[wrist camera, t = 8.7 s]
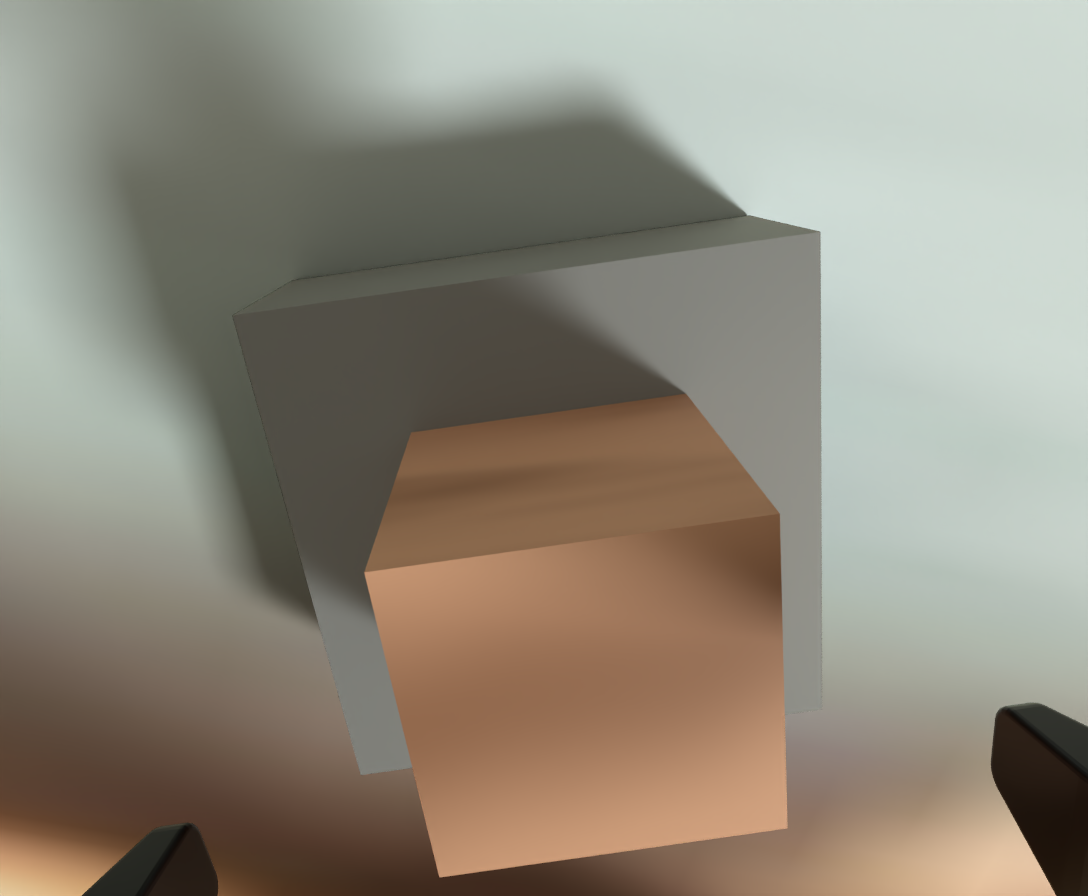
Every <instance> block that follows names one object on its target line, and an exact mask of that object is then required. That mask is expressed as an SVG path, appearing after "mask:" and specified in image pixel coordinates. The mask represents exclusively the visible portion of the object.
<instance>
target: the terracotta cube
mask: <svg viewBox="0 0 1088 896" xmlns="http://www.w3.org/2000/svg"><path fill="white" fill-rule="evenodd" d="M364 574H365V578H366V582H367V586H368V590H369V594H370V598H371V602H372V606H373V610H374V614H375V618H376V622H377V626H378V630H379V634H380V638H381V643H382V647H383V651H384V655H385V659H386V663H387V667H388V671H389V675H390V679H391V683H392V687H393V691H394V695H395V699H396V703H397V707H398V712H399V716H400V720H401V724H402V728H403V732H404V736H405V740H406V744H407V748H408V752H409V756H410V760H411V764H412V768H413V772H414V776H415V780H416V785H417V789H418V793H419V797H420V801H421V805H422V809H423V813H424V817H425V821H426V825H427V829H428V833H429V837H430V841H431V845H432V849H433V854H434V858H435V862H436V866H437V870H438V874H439V877H447V876H454V875H461V874H468V873H475V872H482V871H489V870H496V869H503V868H510V867H517V866H524V865H531V864H538V863H545V862H552V861H560V860H567V859H574V858H581V857H588V856H595V855H602V854H609V853H616V852H623V851H630V850H637V849H644V848H651V847H658V846H666V845H673V844H680V843H687V842H694V841H701V840H708V839H715V838H722V837H729V836H736V835H743V834H750V833H757V832H764V831H772V830H779V829H786V828H787V789H786V748H785V706H784V664H783V623H782V581H781V539H780V513H779V512H778V511H777V509H776V508H775V507H774V505H773V504H772V503H771V502H770V500H769V499H768V498H767V497H766V495H765V494H764V493H763V491H762V490H761V489H760V488H759V486H758V485H757V484H756V482H755V481H754V480H753V479H752V477H751V476H750V475H749V473H748V472H747V471H746V470H745V468H744V467H743V466H742V464H741V463H740V462H739V461H738V459H737V458H736V457H735V456H734V454H733V453H732V452H731V450H730V449H729V448H728V447H727V445H726V444H725V443H724V441H723V440H722V439H721V438H720V436H719V435H718V434H717V432H716V431H715V430H714V429H713V427H712V426H711V425H710V423H709V422H708V421H707V420H706V418H705V417H704V416H703V415H702V413H701V412H700V411H699V409H698V408H697V407H696V406H695V404H694V403H693V402H692V400H691V399H690V398H689V397H688V395H687V394H680V395H673V396H666V397H659V398H652V399H645V400H638V401H631V402H624V403H617V404H609V405H602V406H595V407H588V408H581V409H574V410H567V411H560V412H553V413H546V414H539V415H532V416H525V417H518V418H510V419H503V420H496V421H489V422H482V423H475V424H468V425H461V426H454V427H447V428H440V429H433V430H426V431H418V432H411V434H410V437H409V440H408V443H407V446H406V449H405V452H404V455H403V458H402V461H401V464H400V467H399V470H398V473H397V476H396V479H395V482H394V485H393V488H392V491H391V494H390V497H389V500H388V503H387V506H386V509H385V512H384V515H383V518H382V521H381V524H380V527H379V530H378V533H377V536H376V539H375V542H374V545H373V548H372V551H371V554H370V557H369V560H368V563H367V566H366V569H365V572H364Z"/></svg>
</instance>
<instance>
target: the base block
mask: <svg viewBox="0 0 1088 896" xmlns="http://www.w3.org/2000/svg"><path fill="white" fill-rule="evenodd" d="M232 316H233V320H234V323H235V327H236V330H237V334H238V338H239V341H240V345H241V348H242V352H243V355H244V359H245V363H246V366H247V370H248V373H249V377H250V380H251V384H252V388H253V391H254V395H255V398H256V402H257V405H258V409H259V413H260V416H261V420H262V423H263V427H264V431H265V434H266V438H267V441H268V445H269V448H270V452H271V456H272V459H273V463H274V466H275V470H276V473H277V477H278V481H279V484H280V488H281V491H282V495H283V498H284V502H285V506H286V509H287V513H288V516H289V520H290V523H291V527H292V531H293V534H294V538H295V541H296V545H297V548H298V552H299V556H300V559H301V563H302V566H303V570H304V574H305V577H306V581H307V584H308V588H309V591H310V595H311V599H312V602H313V606H314V609H315V613H316V616H317V620H318V624H319V627H320V631H321V634H322V638H323V641H324V645H325V649H326V652H327V656H328V659H329V663H330V666H331V670H332V674H333V677H334V681H335V684H336V688H337V692H338V695H339V699H340V702H341V706H342V709H343V713H344V717H345V720H346V724H347V727H348V731H349V734H350V738H351V742H352V745H353V749H354V752H355V756H356V759H357V763H358V767H359V770H360V774H361V775H365V774H372V773H379V772H386V771H393V770H400V769H407V768H412V764H411V760H410V756H409V752H408V748H407V744H406V740H405V736H404V732H403V728H402V724H401V720H400V716H399V712H398V707H397V703H396V699H395V695H394V691H393V687H392V683H391V679H390V675H389V671H388V667H387V663H386V659H385V655H384V651H383V647H382V643H381V638H380V634H379V630H378V626H377V622H376V618H375V614H374V610H373V606H372V602H371V598H370V594H369V590H368V586H367V582H366V578H365V574H364V572H365V569H366V566H367V563H368V560H369V557H370V554H371V551H372V548H373V545H374V542H375V539H376V536H377V533H378V530H379V527H380V524H381V521H382V518H383V515H384V512H385V509H386V506H387V503H388V500H389V497H390V494H391V491H392V488H393V485H394V482H395V479H396V476H397V473H398V470H399V467H400V464H401V461H402V458H403V455H404V452H405V449H406V446H407V443H408V440H409V437H410V434H411V432H418V431H426V430H433V429H440V428H447V427H454V426H461V425H468V424H475V423H482V422H489V421H496V420H503V419H510V418H518V417H525V416H532V415H539V414H546V413H553V412H560V411H567V410H574V409H581V408H588V407H595V406H602V405H609V404H617V403H624V402H631V401H638V400H645V399H652V398H659V397H666V396H673V395H680V394H687V395H688V397H689V398H690V399H691V400H692V402H693V403H694V404H695V406H696V407H697V408H698V409H699V411H700V412H701V413H702V415H703V416H704V417H705V418H706V420H707V421H708V422H709V423H710V425H711V426H712V427H713V429H714V430H715V431H716V432H717V434H718V435H719V436H720V438H721V439H722V440H723V441H724V443H725V444H726V445H727V447H728V448H729V449H730V450H731V452H732V453H733V454H734V456H735V457H736V458H737V459H738V461H739V462H740V463H741V464H742V466H743V467H744V468H745V470H746V471H747V472H748V473H749V475H750V476H751V477H752V479H753V480H754V481H755V482H756V484H757V485H758V486H759V488H760V489H761V490H762V491H763V493H764V494H765V495H766V497H767V498H768V499H769V500H770V502H771V503H772V504H773V505H774V507H775V508H776V509H777V511H778V512H779V513H780V539H781V581H782V623H783V664H784V706H785V715H787V714H794V713H801V712H808V711H815V710H822V547H821V270H820V232H819V231H815V230H810V229H806V228H802V227H797V226H793V225H789V224H784V223H780V222H776V221H771V220H767V219H763V218H758V217H754V216H750V215H748V216H741V217H734V218H727V219H720V220H713V221H706V222H699V223H692V224H685V225H678V226H671V227H664V228H657V229H650V230H643V231H636V232H629V233H622V234H615V235H608V236H601V237H594V238H587V239H580V240H573V241H566V242H559V243H552V244H545V245H538V246H531V247H524V248H517V249H510V250H502V251H495V252H488V253H481V254H474V255H467V256H460V257H453V258H446V259H439V260H432V261H425V262H418V263H411V264H404V265H397V266H390V267H383V268H376V269H369V270H362V271H355V272H348V273H341V274H334V275H327V276H320V277H313V278H306V279H299V280H293V281H291V282H289V283H287V284H286V285H284V286H282V287H281V288H279V289H277V290H275V291H274V292H272V293H270V294H269V295H267V296H265V297H263V298H262V299H260V300H258V301H256V302H255V303H253V304H251V305H250V306H248V307H246V308H244V309H243V310H241V311H239V312H237V313H236V314H234V315H232Z"/></svg>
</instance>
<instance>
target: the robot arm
mask: <svg viewBox="0 0 1088 896" xmlns="http://www.w3.org/2000/svg"><path fill="white" fill-rule="evenodd" d="M991 770H992V775H993V778H994V781H995V784H996V786H997V788H998V790H999V792H1000V794H1001V795H1002V797H1003V799H1004V801H1005V803H1006V805H1007V806H1008V808H1009V810H1010V812H1011V814H1012V815H1013V817H1014V819H1015V821H1016V823H1017V825H1018V826H1019V828H1020V830H1021V832H1022V834H1023V836H1024V837H1025V839H1026V841H1027V843H1028V845H1029V847H1030V848H1031V850H1032V852H1033V854H1034V856H1035V857H1036V859H1037V861H1038V863H1039V865H1040V867H1041V868H1042V870H1043V872H1044V874H1045V876H1046V878H1047V879H1048V881H1049V883H1050V885H1051V887H1052V889H1053V890H1054V892H1055V894H1056V896H1088V726H1086V725H1084V724H1082V723H1080V722H1078V721H1076V720H1074V719H1072V718H1070V717H1067V716H1065V715H1063V714H1061V713H1059V712H1057V711H1055V710H1053V709H1051V708H1049V707H1047V706H1045V705H1042V704H1039V703H1025V704H1018V705H1011V706H1005V707H1002V708H1000V709H999V711H998V712H997V714H996V718H995V726H994V736H993V746H992V756H991ZM217 895H218V880H217V875H216V871H215V869H214V866H213V864H212V861H211V858H210V856H209V853H208V851H207V848H206V846H205V843H204V841H203V838H202V835H201V833H200V831H199V829H198V827H196V826H195V825H194V824H193V823H181V824H174V825H167V826H161V827H158V828H156V829H154V830H152V831H151V832H150V833H149V834H147V835H146V836H145V837H144V838H143V839H142V840H141V841H140V842H139V843H138V844H137V845H136V846H134V847H133V848H132V849H131V850H130V851H129V852H128V853H127V854H126V855H125V856H124V857H123V858H122V859H120V860H119V861H118V862H117V863H116V864H115V865H114V866H113V867H112V868H111V869H110V870H109V871H108V872H107V873H105V874H104V875H103V876H102V877H101V878H100V879H99V880H98V881H97V882H96V883H95V884H94V885H93V886H92V887H90V888H89V889H88V890H87V891H86V892H85V893H84V894H83V895H82V896H217Z"/></svg>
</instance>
